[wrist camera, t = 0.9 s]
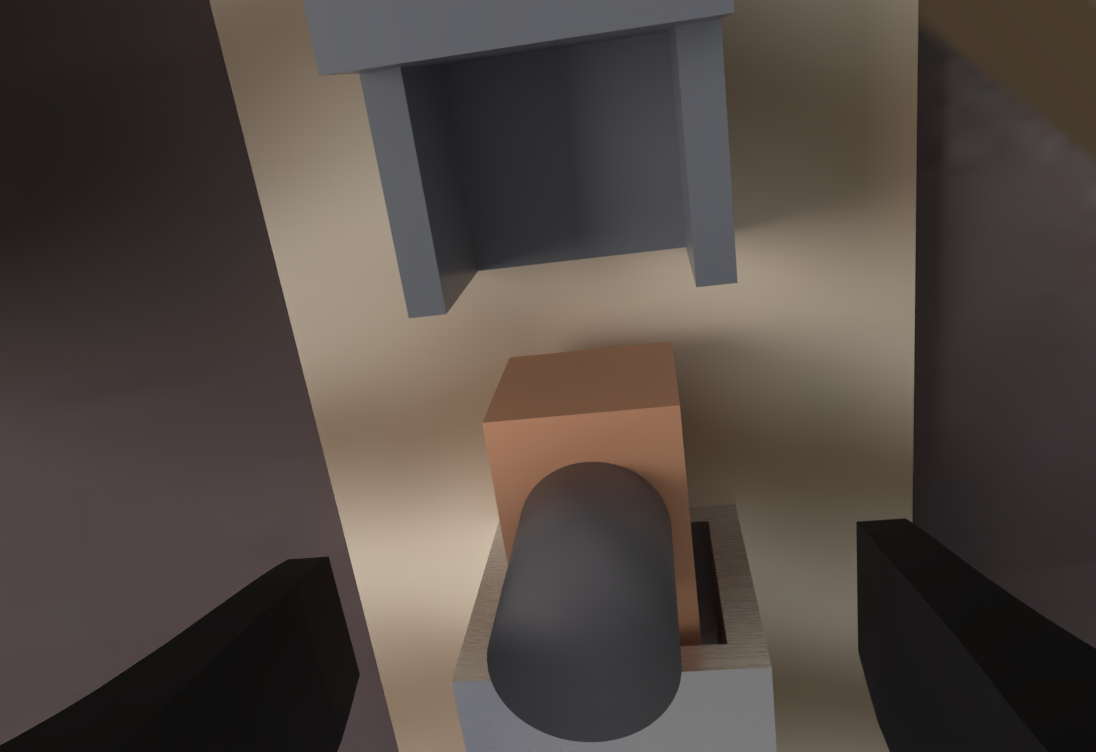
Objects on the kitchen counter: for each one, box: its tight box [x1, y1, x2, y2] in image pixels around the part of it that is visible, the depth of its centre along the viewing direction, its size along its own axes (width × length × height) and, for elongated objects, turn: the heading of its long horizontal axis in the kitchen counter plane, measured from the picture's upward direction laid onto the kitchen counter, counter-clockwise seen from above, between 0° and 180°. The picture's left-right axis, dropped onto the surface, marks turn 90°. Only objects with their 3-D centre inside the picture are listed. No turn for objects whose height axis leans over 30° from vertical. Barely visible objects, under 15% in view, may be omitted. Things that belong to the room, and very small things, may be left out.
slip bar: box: [482, 341, 702, 742], centre depth 15 cm, size 12×3×6 cm, turn 8°
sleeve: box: [451, 504, 777, 752], centre depth 17 cm, size 7×5×5 cm
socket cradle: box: [303, 0, 738, 318], centre depth 13 cm, size 5×5×5 cm
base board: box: [209, 0, 918, 752], centre depth 18 cm, size 19×12×1 cm, turn 8°
